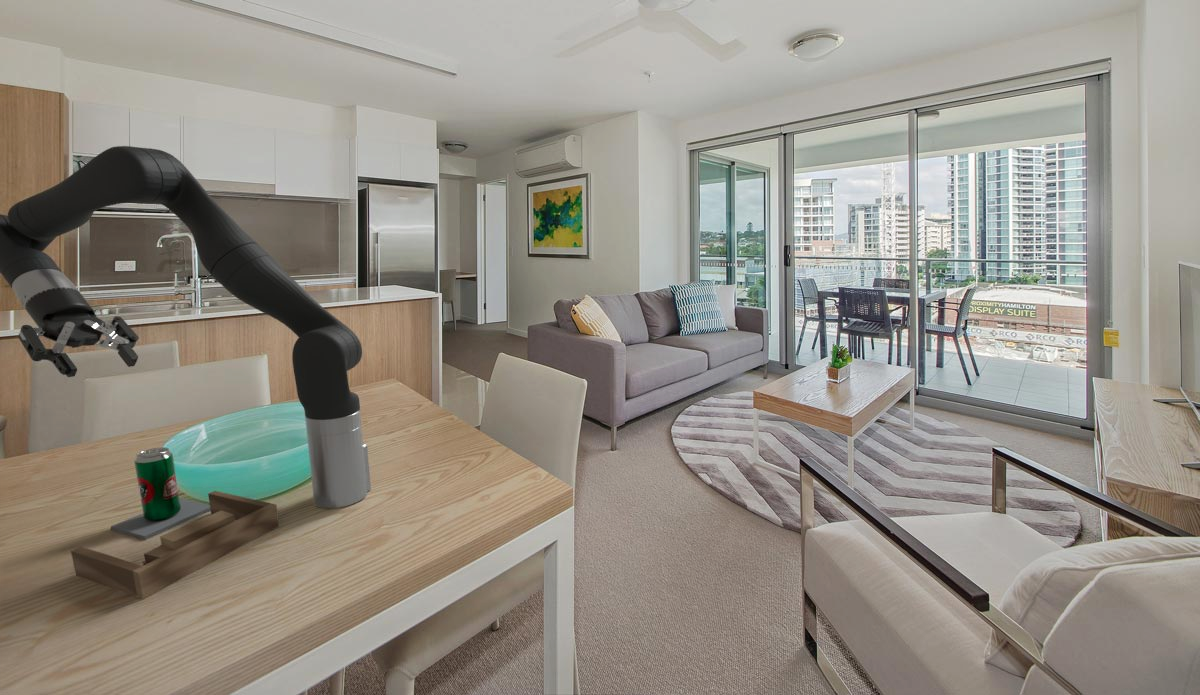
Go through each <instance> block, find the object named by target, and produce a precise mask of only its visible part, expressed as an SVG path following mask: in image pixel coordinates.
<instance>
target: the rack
mask: <svg viewBox="0 0 1200 695" xmlns="http://www.w3.org/2000/svg"><path fill="white" fill-rule="evenodd" d="M207 495H208V503H209V505H210V509H211V510H210V515H212V514H214V513H216V512H219V511H221V510H222V511H225V512H228V513H231V514H234V516H235V521H234V522H232V523H230V524H228V525H226V526H224V527H222V528H220V529H218V530H216V531H214V532H212V533H210V534H208V535H205V536H203V537H201V538H199V539H197V540H195V541H193V542H191V543H189V544H187V545H185V546H183V547H181V548H179V549H177V550H175V551H173V552H171V553H169V554H167V555H164V556H162V557H160V558H158V559H156V560H154V561H152V562H150V563H148V564H146V565H144V566H143V565H141V564H138V563H135V562H131V561H128V560H125V559H122V558H118V557H115V556H112V555H109V554H107V553H103V552H100V551H96V550H93V549H90V548H88V547H84V546H80V547H77V548H75V549H72V550H70V553H71V558H72V563H73V569H74V573H75V576H76V577H79V578H81V579H85V580H88V581H89V582H94V583H95V584H97V585H98V584H99V585H102V586H104V587H107V588H109V589H113V590H115V591H118V592H121V593H124V594H128V595H131V596H134V597H137V598H139V599H142V600H144V599H146V598H148V597H150V596H152V595H153V594H156V593H157V592H159V591H162V590H163V589H164V588H166V587H168V586H170V585H172V584H174V583H176V582H178V581H179V580H182V579H183V578H185V577H187V576H189V575H190V574H192V573H194V572H196V571H198V570H200V569H201V568H203V567H205V566H207V565H209V564H211V563H213V562H215V561H216V560H218V559H220V558H222V557H224V556H225V555H228V554H229V553H231V552H234V551H235V550H237V549H239V548H241V547H243V546H244V545H246V544H249V543H250V542H252V541H253V540H255V539H257V538H259V537H261V536H263V535H264V534H267V533H268V532H270V531H272V530H275V529H276V528H278V527H279V526H280V524H279V517H278V507H277V506H278V505H277V504H275V503H271V502H267V501H262V500H257V499H253V498H249V497H245V496H241V495H235V494H231V493H227V492H222V491H217V490H214V491H211V492H209V493H207Z"/></svg>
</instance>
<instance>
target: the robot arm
mask: <svg viewBox="0 0 1200 695" xmlns="http://www.w3.org/2000/svg"><path fill="white" fill-rule="evenodd" d="M127 203H133V204H143V205H144V204H145V205H146V204H147V205H148V204H154V205H155V204H156V205H157V204H160V205H162V206H164V207H165V208H167V209H168V210H169V211H171V213H172V214H174V215H175V216H176V217H177V218H178V219H179V220H180V221H181V222H182V223H183V224H185V226H186V227H187V228H188V229H189V231H190V233H191V234H192V237H193V240H194V245H195V248H196V251H197V255H198V258H199V261H200V262H201V264H202V266H203V268H204V269H205V270H206V271H207V272H208V273H209V274H210V275H211V277H213V278H214V279H215V280H216V281H217V282H218V283H219V284H220V285H221V286H222V287H223V288H224V289H225V290H227V291H228V293H230V294H231V295H233V296H234V297H235V298H236V299H238V300H240V301H241V302H243V303H244V304H246V305H248V306H250V307H251V308H254V309H256V310H258V311H260V312H261V313H264V314H266V315H267V316H270V317H271V318H273V319H275V320H277V321H278V322H280V323H282V324H283V325H284V326H286V327H287V328H288V329H289V330H291V331H292V333H293V334H294V335H296V336H297V337H298V338H297V339H296V341H295V342H294V344H293V347H292V355H291V356H292V368H293V374H294V375H293V376H294V381H295V389H296V392H297V398H298V400H299V402H300V404H301V406H302V407H303V409H304V419H305V427H306V428H305V429H306V436H307V437H306V438H307V445H308V446H307V447H308V456H309V465H310V467H309V468H310V476H311V483H312V484H311V485H312V494H313V503H314V505H315V506H316V507H317V508H323V509H337V508H344V507H346V506H350V505H353V504H356V503H357V502H360V501H361V500H363V499H364V498H366V496H367V493H368V492H369V491H371V490H372V487H371V486H372V485H371V474H370V463H369V453H368V452H369V451H368V449H369V448H368V445H367V444H366V443H364V439H363V437H364V436H363V425H362V417H361V416H362V415H361V406H360V405H361V403H360V397H359V395H358V394H356V393H355V392H354V391H353V392H352V391H351V390H350V385H349V377H348V371H351V370H352V369H353V368H355V367H357V365H358V364H360V361H361V359H362V357H363V348H362V343H361V341H360V339H359V337H358V336H357V335H356V334H355V332H354V331H353V330H352V329H351V328H349V326H347V325H346V324H344V323H343V322H342V321H341V320H339V319H338V318H337V317H336V316H334V315H333V314H332V313H331V312H329V311H328V310H327V309H325V307H323V306H322V305H321V304H319V303H318V302H317V301H316V300H315V299H314V298H313V297H311V295H310V294H308V292H307V291H306V290H305V289H304V288H303V287H302V286H301V285H300V284H298V282H297V281H296V280H295V279H294V278H293V277H292V276H290V275H289V273H288V272H287V271H285V270H284V269H283V268H282V266H280V264H279V263H278V262H277V261H276V260H275V259H274V258H273V257H272V256H271V255H270V254H269V253H268V252H267V251H266V250H265V249H264V248H262V247H261V246H260V244H259V243H258V242H256V240H254V239H253V237H251V236H250V235H249V234H248V233H247V232H246V231H244V229H243V228H242V227H241V226H240V225H239V224H238V223H237V222H236V221H234V219H233V218H231V216H229V214H228V213H227V212H226V211H225V210H224V209H222V208H221V206H219V204H218V203H217V202H216V201H215V200H214V199H213V198H212V196H211V195H210V194H209V193H208V192H207V191H206V189H205V188H204V187H203V186H202V184H201V183H200V182H199V181H198V180H197V179H196V177H194V175H193V173H191V172H190V170H189V169H188V168H187V167H186V166H185V165H184V164H183V163H182V162H181V160H179V158H177V157H175V156H174V155H172V154H170V153H168V152H167V151H164V150H161V149H158V148H157V149H155V148H151V147H149V148H147V147H137V146H131V145H129V146H128V145H121V146H120V145H118V146H117V145H116V146H112V147H110V148H107V149H105V150H104V151H102V152H100V153H99V154H97V155H96V156H94V157H93V158H92V159H91V160H89V161H88V162H87V163H86V164H84V165H83V166H82V167H80V168H79V169H78V170H76V171H74V172H73V173H72V174H71V175H70V176H68V177H67V178H65V179H64V180H62V181H60V182H59V183H58V184H55V185H54V186H52V187H50V188H47V189H45V190H44V191H43V190H42V191H41V192H39V193H36V194H35V195H32V196H29V197H28V198H25V199H23V200H20V201H18V202H16V203H15V204H13V205H12V206H11V207H10V208H9V209H8V212H7V215H5V214H1V213H0V274H1V275H2V277H3V279H4V280H5V281H6V282H7V283H8V285H9V286H10V287H11V289H12V290H13V292H14V294H15V297H16V298H17V300H18V301H19V302H20V305H21V306H22V307H23V308H24V309H25V311H26V312H27V314H28V315H29V316H30V317H31V319H32V320H33V322H34V323H35V324H36V326H37V327H33V326H32V325H30V324H23V325H21V327H20V330H19V333H18V335H17V338H18V339H19V341H20V342H21V345H22V346H23V347H24V349H25V351H26V353H27V354H28V356H29V357H30V358H31V360H32V361H34V362H41V361H49V362H50V363H52V364H53V365H54V367H55V368H56V370H57V371H58V372H59V373H60V374H61V375H63V376H64V375H65V376H66V377H67V378H72V377H75V376H76V374H77V372H78V368H77V366H76V365H75V363H74V362H73V361H72V359H71V358H70V356H69V355H68V354H67V353H66V352H64V350H65V348H66V347H71V349H74V348H79V347H80V348H81V347H84V346H88V347H91V346H95V345H97V346H99V347H101V348H104V349H107V348H109V349H111V350H113V351H117V354H118V356H119V357H120V358H121V359H122V360H123V362H124V363H125V365H126V366H127V367H128V368H132V367H135V366H136V364H137V362H138V359H139V355H138V354H137V353H136V352H135V350H134V347H135V346H136V344H137V342H138V340H139V338H140V337H139V335H137V333H135V331H134V330H133V329H132V327H131V326H130V325H129V324H128V323H127V322H126V321H125V320H124V319H123V318H122V317H121V316H118V315H117V316H114V317H113V319H108V320H103V319H101V318H99V317H98V316H97V315H96V312H95V311H94V309H93V307H92V306H91V305H90V303H89V302H88V301H87V300H86V299H85V297H84V295H83V294H82V292H81V291H79V289H78V288H77V286H76V285H75V284H74V283H73V281H71V280H70V278H68V277H67V276H66V274H65V273H64V272H63V271H62V270H61V268H60V266H58V265H57V263H56V262H55V260H54V259H53V258H52V257H51V256H50V255H48V254H47V253H46V252H44V251H45V250H46V249H47V248H48V247H49V245H50V244H51V243H52V242H54V240H55V239H56V238H57V237H59V236H62V235H64V234H67V233H69V232H71V231H74V230H77V229H78V228H80V227H82V226H83V225H85V224H86V223H88V222H89V221H90V220H91V218H92V216H93V214H94V213H95V212H97V210H99V209H102V208H106V207H109V206H114V205H120V204H121V205H122V204H127ZM41 336H42V337H44V338H45V339H48V340H50V341H53V342H54V343H55V344H54V345H53V347H52V348H46V347H45V345H44V344H43V342H42V340H41ZM102 336H104V337H105V339H102Z"/></svg>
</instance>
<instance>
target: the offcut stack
mask: <svg viewBox="0 0 1200 695" xmlns="http://www.w3.org/2000/svg"><path fill="white" fill-rule="evenodd" d="M234 521H236V520H235V516H234V514H231V513H228V512H225V511H222V510H221V511H219V512H216V513H214V514H210V515H207V516H205V517H203V518H200V519H198V520H196V521H193V522H191V523H188V524H186V525H184V526H181V527H179V528H177V529H174V530H172V531H169V532H167V533H165V534H163V535H160V536H159V538H160V543H161V545H159V546H157V547H154V548H153V549H150V550H149V551H147V552H145V553H143V556H144V561H143V562H142V566H144V565H146V564H148V563H150V562H152V561H154V560H156V559H158V558H160V557H162V556H164V555H167V554H169V553H171V552H173V551H175V550H177V549H179V548H181V547H183V546H185V545H187V544H189V543H191V542H193V541H195V540H197V539H199V538H201V537H203V536H205V535H208V534H210V533H212V532H214V531H216V530H218V529H220V528H222V527H224V526H226V525H228V524H230V523H232V522H234Z"/></svg>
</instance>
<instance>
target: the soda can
mask: <svg viewBox="0 0 1200 695" xmlns="http://www.w3.org/2000/svg"><path fill="white" fill-rule="evenodd" d="M173 456H174V455H173V453H172V452H171V451H170V449H169V447H154V448H153V447H152V448H149V449H146V450H145V449H144V450H142V451H140V452H138V453H137V454H136V456H135V457H136V458H135V460H134V466H135V472H136V473H135V474H136V478H137V484H138V492H139V497H140V503H141V508H142V514H143V515H144V518H145V519H146V520H148V521H161V520H165V519H168V518H171V517H173V516H175V515H176V514H177V513H178V512H179V511H180V509H181V505H180V494H179V493H180V492H179V487H178V480H177V475H176V467H175V462H174V457H173Z"/></svg>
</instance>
